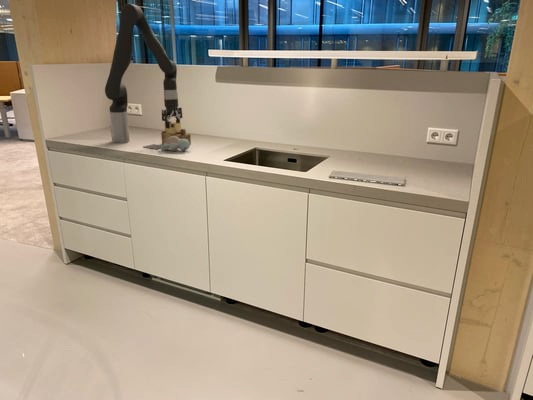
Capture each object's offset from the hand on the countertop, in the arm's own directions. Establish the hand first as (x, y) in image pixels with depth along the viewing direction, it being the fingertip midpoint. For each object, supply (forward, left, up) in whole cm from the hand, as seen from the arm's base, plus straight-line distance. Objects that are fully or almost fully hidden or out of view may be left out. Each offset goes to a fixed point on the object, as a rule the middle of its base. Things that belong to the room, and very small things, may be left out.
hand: (173, 127), depth 232 cm
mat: (-2, -13, -9) cm, 16 cm away
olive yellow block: (0, 0, -3) cm, 3 cm away
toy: (+13, -13, -10) cm, 21 cm away
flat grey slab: (+116, -8, -10) cm, 117 cm away
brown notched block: (+2, 0, -10) cm, 10 cm away
